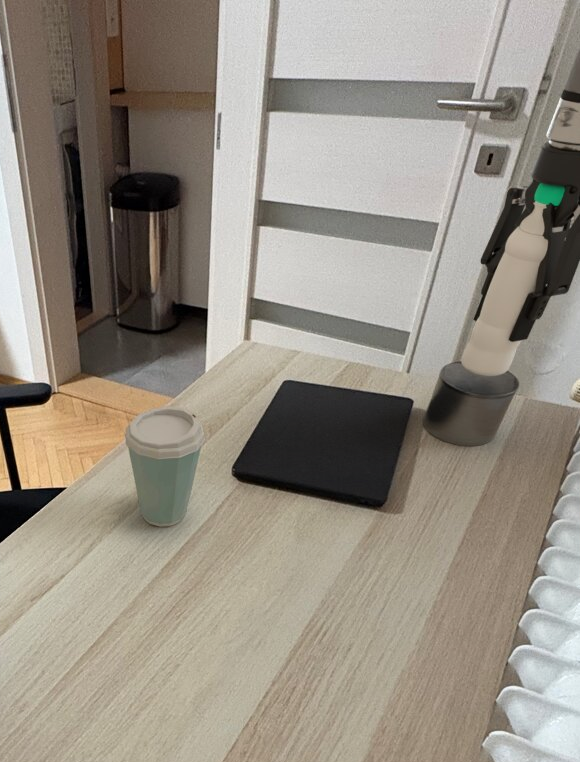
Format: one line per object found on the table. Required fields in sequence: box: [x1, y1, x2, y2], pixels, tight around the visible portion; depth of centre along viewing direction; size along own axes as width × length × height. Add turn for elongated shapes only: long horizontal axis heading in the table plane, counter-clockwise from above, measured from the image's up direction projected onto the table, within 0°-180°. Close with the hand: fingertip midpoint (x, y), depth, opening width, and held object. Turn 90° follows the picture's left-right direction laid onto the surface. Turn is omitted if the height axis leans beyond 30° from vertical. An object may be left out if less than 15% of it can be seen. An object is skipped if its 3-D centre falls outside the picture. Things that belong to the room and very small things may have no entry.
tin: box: [422, 360, 520, 447], centre depth 102 cm, size 12×12×9 cm
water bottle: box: [460, 183, 565, 376], centre depth 88 cm, size 7×7×25 cm
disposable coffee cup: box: [124, 405, 206, 527], centre depth 86 cm, size 11×11×15 cm
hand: (499, 328), depth 93 cm, fingers closed on water bottle, 7 cm apart
